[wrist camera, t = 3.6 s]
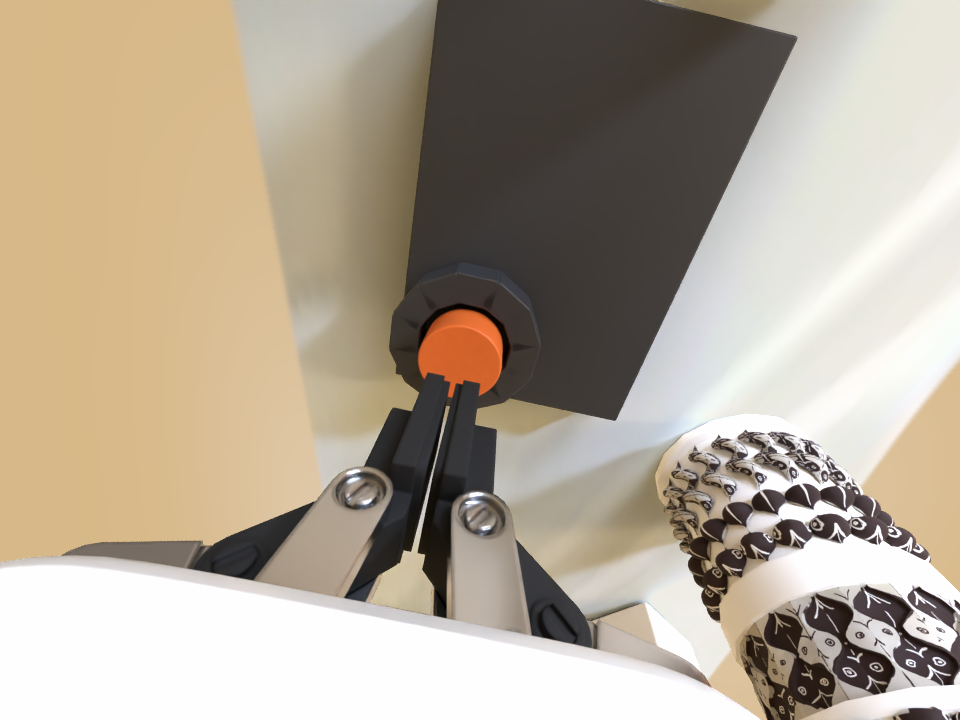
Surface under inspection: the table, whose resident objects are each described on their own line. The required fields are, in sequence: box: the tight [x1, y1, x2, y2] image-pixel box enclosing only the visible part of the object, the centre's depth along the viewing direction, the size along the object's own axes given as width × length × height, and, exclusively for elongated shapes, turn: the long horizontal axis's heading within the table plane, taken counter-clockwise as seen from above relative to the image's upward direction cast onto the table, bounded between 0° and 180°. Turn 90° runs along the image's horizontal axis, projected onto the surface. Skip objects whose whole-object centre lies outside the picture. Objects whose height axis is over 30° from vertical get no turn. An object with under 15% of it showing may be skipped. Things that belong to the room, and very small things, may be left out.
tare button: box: [418, 309, 503, 398], centre depth 15 cm, size 3×3×2 cm
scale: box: [389, 0, 797, 421], centre depth 15 cm, size 15×11×4 cm
